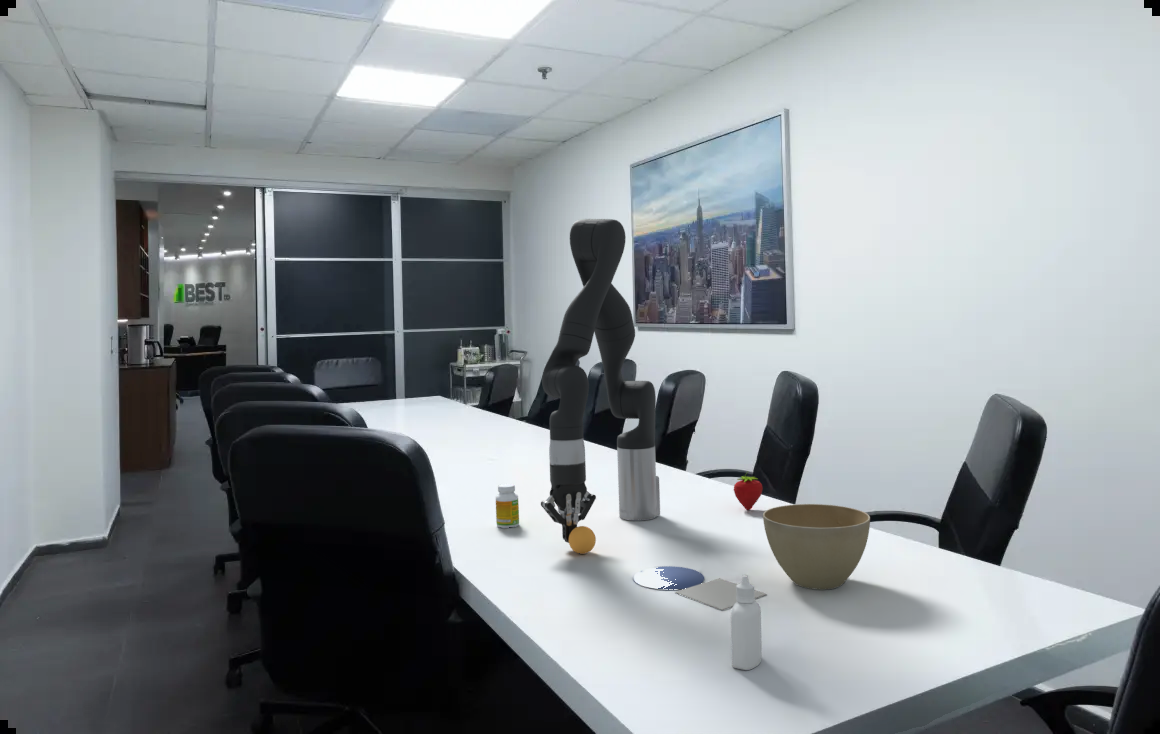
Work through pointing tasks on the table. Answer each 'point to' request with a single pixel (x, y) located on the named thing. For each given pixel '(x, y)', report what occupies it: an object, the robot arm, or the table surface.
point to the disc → (680, 577)
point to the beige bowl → (817, 542)
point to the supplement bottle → (507, 506)
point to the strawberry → (748, 491)
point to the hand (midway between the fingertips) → (570, 541)
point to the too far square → (715, 593)
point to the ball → (582, 539)
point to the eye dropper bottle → (746, 628)
